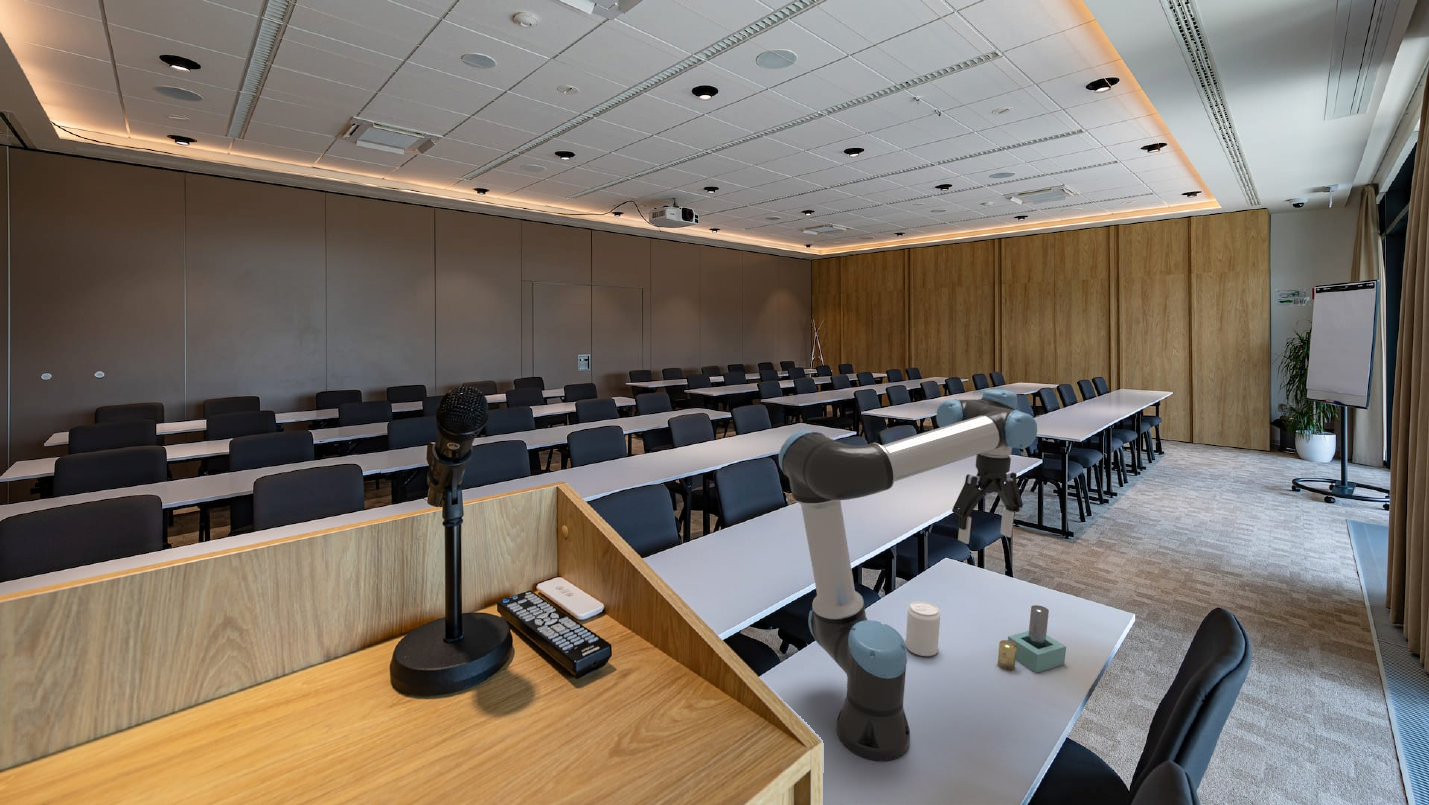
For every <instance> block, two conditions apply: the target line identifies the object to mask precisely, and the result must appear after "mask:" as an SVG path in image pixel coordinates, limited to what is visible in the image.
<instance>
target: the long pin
mask: <svg viewBox="0 0 1429 805" xmlns="http://www.w3.org/2000/svg"><path fill="white" fill-rule="evenodd" d="M1049 611H1050V610H1049V609H1048V608H1047V607H1046V606H1042V605H1038V604H1037V605H1036V604H1035V605H1034V604H1033V605H1031V606H1030V617H1029V626H1028V631H1029V634H1028V643H1029V644H1031V645H1032V646H1034V647H1035V648H1037V649H1041V648H1044V647H1045V643H1046V635H1047V633H1048V632H1047V631H1048V624H1049V623H1048V622H1049Z"/></svg>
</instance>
